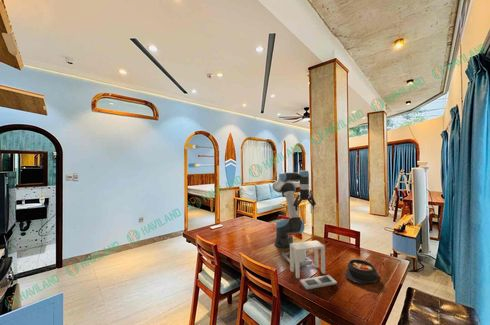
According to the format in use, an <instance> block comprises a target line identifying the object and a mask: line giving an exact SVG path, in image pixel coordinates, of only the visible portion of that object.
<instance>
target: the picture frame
mask: <svg viewBox="0 0 490 325" xmlns="http://www.w3.org/2000/svg"><path fill="white" fill-rule="evenodd" d="M292 243H294V238H293V235H289V247H288V251H286V252H285V251H284V252H281V256H282V257H283V258H284V259H285V260H286V261H287V262H288V263H289V264H290V257H288V256H290V244H292ZM311 265H313V260H312V259H310V258H309V257H307V256H306V259H305V261H303V262H299V266H300V267H305V266H311ZM294 268H295V263H294Z"/></svg>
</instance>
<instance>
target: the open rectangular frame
mask: <svg viewBox="0 0 490 325" xmlns="http://www.w3.org/2000/svg"><path fill="white" fill-rule="evenodd" d="M299 242H300V243H294V242H293V243H292V244H290V255H289V259H290V263H289V268H290V269H289V271H290V272H292V273H293V272H294V273H295V278H296V279H299V282H300V283H302V284H301V285H302V286H303V287H304V289H306V290H312V289H316V288H323V287H328V286H332V285H337V284H338V282H337V280H335V279H334V278H333V277H332V276H331V275H329V274H326V245H325V244H323V243H321V241H318V240H309V241H299ZM294 250H295V267H294ZM319 250H320V265H319ZM300 251H306V252H307V251H313V252H314V254H313V255H314V268H316V269H317V268H319V266H320V272H321V274H322V275H321V276H320V275H319V276H316V277H309V278H303V279H300V277H301V273H300V272H301V271H300V268H301V266H299V252H300Z"/></svg>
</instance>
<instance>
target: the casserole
mask: <svg viewBox="0 0 490 325" xmlns="http://www.w3.org/2000/svg"><path fill="white" fill-rule="evenodd" d="M346 265H347V268H346V270H345V271H346V272H345V273H344V276H345V278H347V279H348V280H350V281H352V282H353V283H355V284H356V283H357V284H360V285H365V284H370V283H371V284H372V283H376V282H378V281H379V273H378V271H377V269H376V267H375V266H374V265H373V264H372V263H370V262H369V261H365V260H361V259H350V260H349V261H348V262H347V264H346Z"/></svg>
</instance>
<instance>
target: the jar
mask: <svg viewBox="0 0 490 325" xmlns="http://www.w3.org/2000/svg"><path fill="white" fill-rule="evenodd" d="M300 242H301V241H293V243H300ZM306 257H307V251H300V252H299V262H303V261H306ZM294 263H295V250H294Z"/></svg>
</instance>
